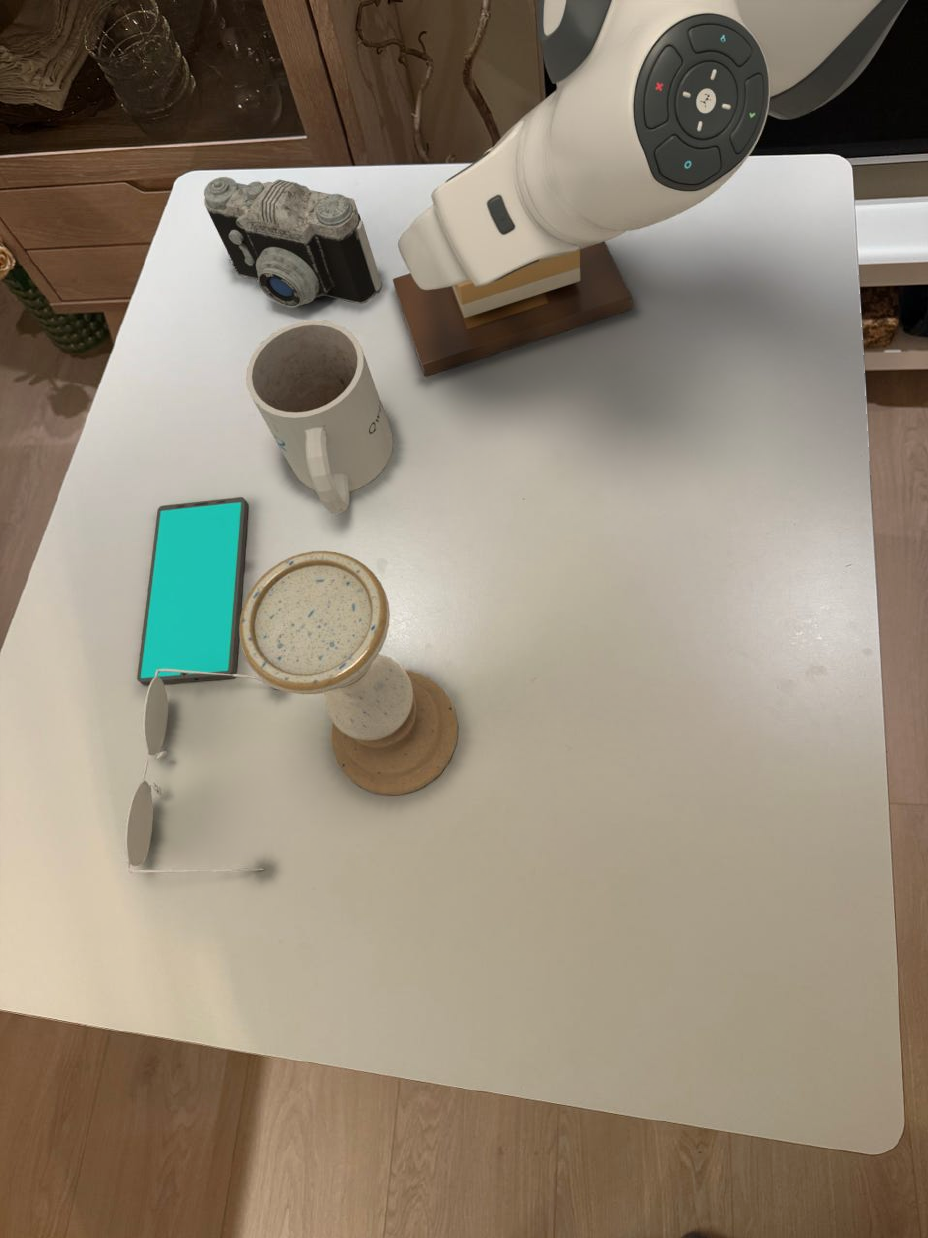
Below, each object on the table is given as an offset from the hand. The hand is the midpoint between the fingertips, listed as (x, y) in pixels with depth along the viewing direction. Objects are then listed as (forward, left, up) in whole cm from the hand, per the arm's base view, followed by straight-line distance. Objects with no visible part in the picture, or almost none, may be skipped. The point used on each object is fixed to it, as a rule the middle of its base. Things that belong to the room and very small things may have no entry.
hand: (502, 212), depth 69 cm
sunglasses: (+32, +34, -9) cm, 48 cm away
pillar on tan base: (0, +1, -6) cm, 6 cm away
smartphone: (+31, +19, -9) cm, 37 cm away
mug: (+18, +12, -9) cm, 23 cm away
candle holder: (+19, +35, -9) cm, 41 cm away
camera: (+17, -8, -9) cm, 21 cm away
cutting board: (0, +1, -9) cm, 9 cm away
